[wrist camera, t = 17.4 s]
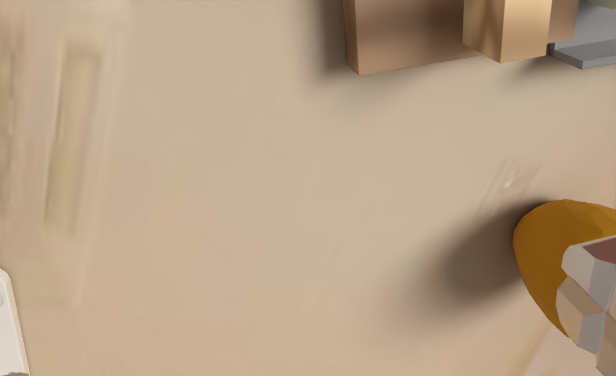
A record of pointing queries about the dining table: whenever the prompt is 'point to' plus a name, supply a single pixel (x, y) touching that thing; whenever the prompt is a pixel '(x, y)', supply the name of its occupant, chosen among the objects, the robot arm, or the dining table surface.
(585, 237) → the apple
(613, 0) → the tile
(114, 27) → the dining table surface
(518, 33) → the wooden plank piece
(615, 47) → the tray
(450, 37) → the board
